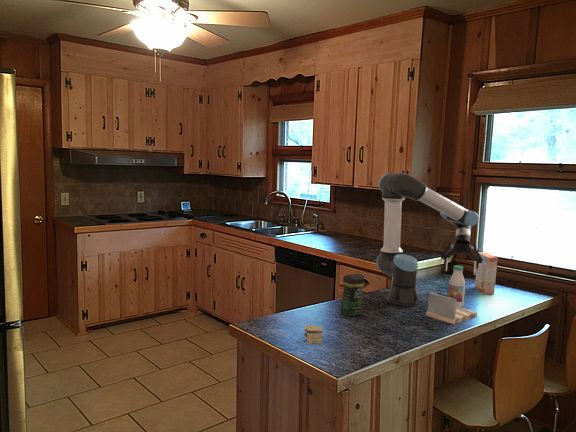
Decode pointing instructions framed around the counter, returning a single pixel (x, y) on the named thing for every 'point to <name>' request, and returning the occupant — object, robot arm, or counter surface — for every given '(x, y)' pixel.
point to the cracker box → (486, 274)
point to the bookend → (442, 305)
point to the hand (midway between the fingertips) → (460, 271)
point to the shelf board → (460, 315)
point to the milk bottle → (457, 286)
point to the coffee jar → (352, 295)
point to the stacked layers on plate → (313, 334)
